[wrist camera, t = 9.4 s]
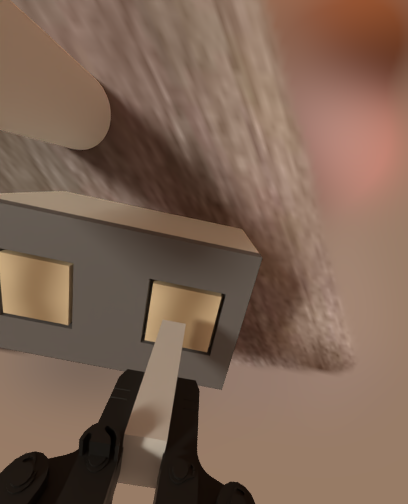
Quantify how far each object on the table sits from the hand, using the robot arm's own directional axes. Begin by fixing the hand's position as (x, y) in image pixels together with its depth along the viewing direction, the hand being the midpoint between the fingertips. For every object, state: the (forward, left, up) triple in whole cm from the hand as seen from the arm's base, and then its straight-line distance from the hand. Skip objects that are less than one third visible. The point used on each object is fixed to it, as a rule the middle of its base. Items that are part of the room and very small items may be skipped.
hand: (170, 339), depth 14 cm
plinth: (-5, 0, -12) cm, 13 cm away
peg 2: (0, 0, -10) cm, 10 cm away
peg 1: (-11, 0, -10) cm, 15 cm away
